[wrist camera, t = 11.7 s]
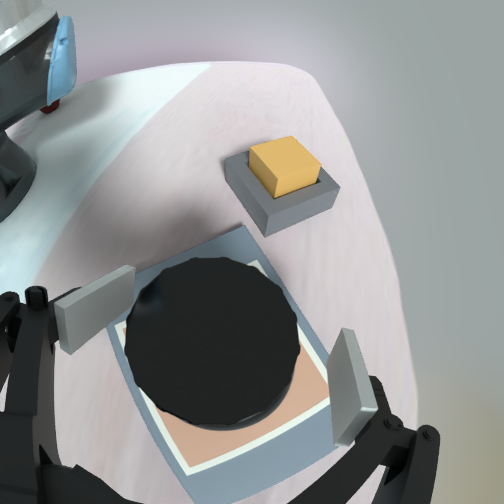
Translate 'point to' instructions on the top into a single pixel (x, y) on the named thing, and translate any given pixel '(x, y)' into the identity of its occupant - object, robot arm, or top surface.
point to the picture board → (250, 438)
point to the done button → (283, 166)
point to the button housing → (283, 208)
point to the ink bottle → (213, 343)
